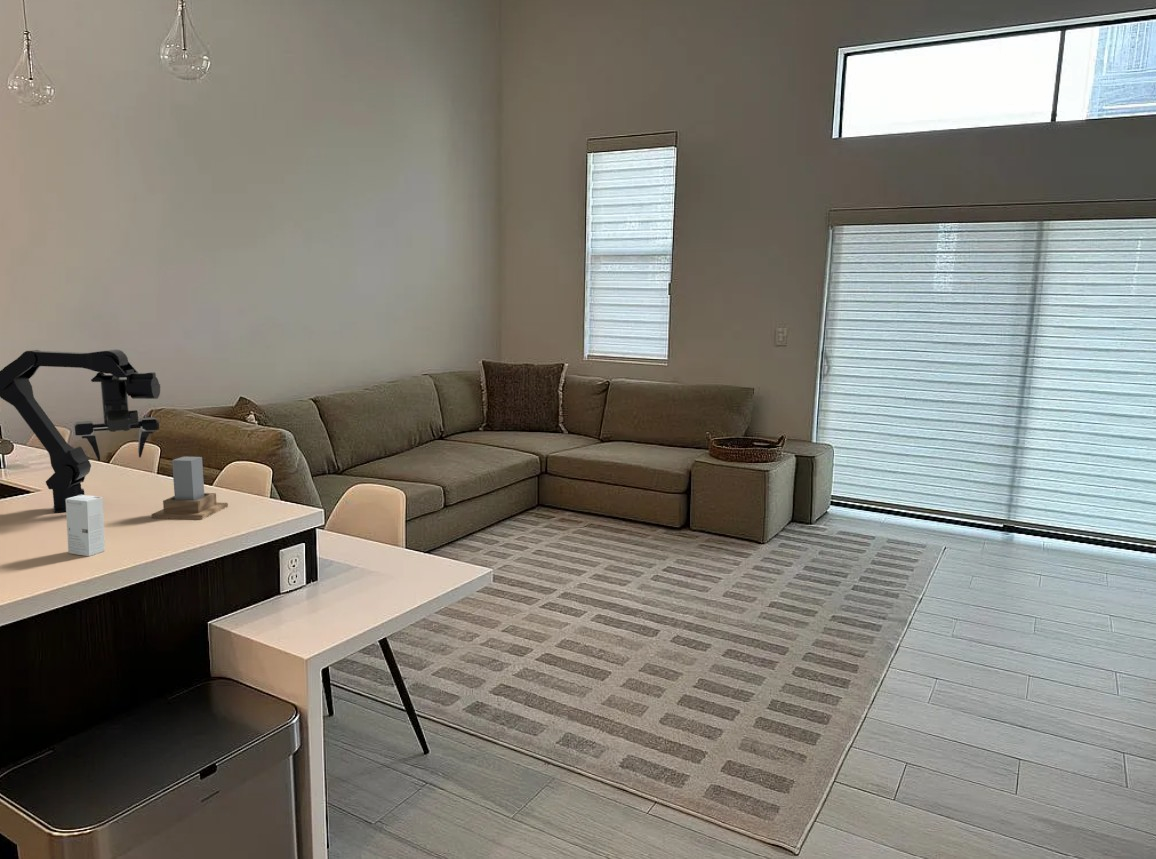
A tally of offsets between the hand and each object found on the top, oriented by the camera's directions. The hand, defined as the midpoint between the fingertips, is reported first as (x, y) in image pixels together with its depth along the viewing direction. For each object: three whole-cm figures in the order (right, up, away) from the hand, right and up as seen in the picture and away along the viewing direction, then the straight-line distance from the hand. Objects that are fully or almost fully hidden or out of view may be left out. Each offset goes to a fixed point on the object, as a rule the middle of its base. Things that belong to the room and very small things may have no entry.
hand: (119, 459), depth 209 cm
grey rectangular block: (+19, -13, -2) cm, 23 cm away
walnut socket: (+19, -14, -2) cm, 24 cm away
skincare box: (+13, -19, -35) cm, 42 cm away
